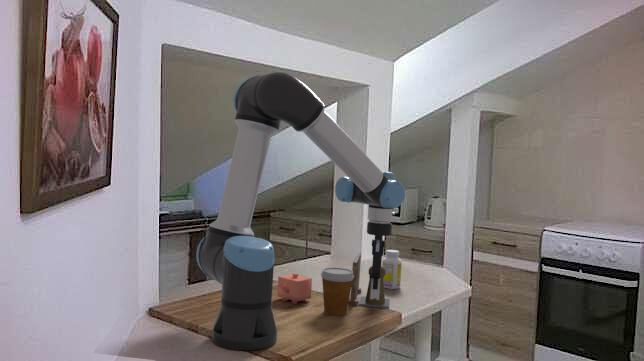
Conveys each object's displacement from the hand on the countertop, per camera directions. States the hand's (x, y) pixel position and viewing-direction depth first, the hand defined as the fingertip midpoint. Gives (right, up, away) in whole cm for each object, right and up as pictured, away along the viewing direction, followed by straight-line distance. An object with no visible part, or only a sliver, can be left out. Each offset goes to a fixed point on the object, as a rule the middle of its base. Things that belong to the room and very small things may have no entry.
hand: (374, 296), depth 162 cm
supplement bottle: (+8, -2, +22) cm, 24 cm away
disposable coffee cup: (-12, -2, -12) cm, 18 cm away
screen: (-6, -1, +5) cm, 8 cm away
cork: (0, -2, 0) cm, 2 cm away
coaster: (0, -2, 0) cm, 2 cm away
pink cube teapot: (-25, -1, -2) cm, 25 cm away
